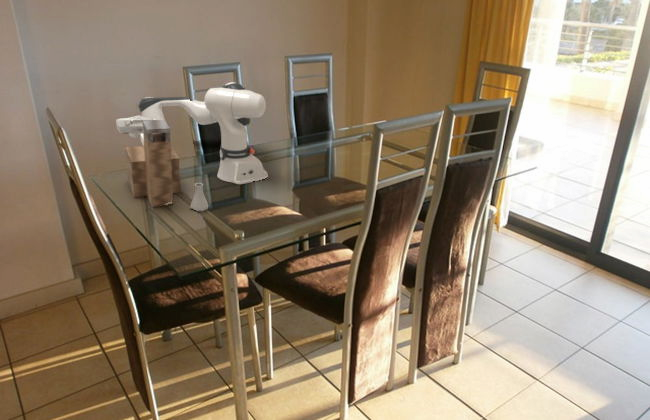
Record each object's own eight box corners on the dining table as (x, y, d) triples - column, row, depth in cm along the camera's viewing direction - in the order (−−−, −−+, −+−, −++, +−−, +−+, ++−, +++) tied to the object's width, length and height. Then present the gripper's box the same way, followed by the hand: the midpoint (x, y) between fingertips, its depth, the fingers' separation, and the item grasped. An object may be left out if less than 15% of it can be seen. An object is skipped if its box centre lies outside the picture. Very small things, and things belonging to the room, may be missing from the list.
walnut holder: (172, 177, 223) (169, 107, 209) (185, 203, 203) (184, 127, 189) (128, 181, 215) (122, 108, 201) (137, 208, 195) (132, 130, 181)
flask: (203, 213, 197) (203, 189, 193) (186, 209, 198) (185, 186, 194) (211, 205, 203) (211, 182, 199) (194, 202, 204) (194, 179, 200)
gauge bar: (150, 139, 219) (150, 132, 217) (160, 158, 202) (160, 150, 200) (140, 140, 217) (140, 132, 215) (149, 159, 200) (149, 151, 198)
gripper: (162, 131, 240) (167, 127, 227) (115, 133, 231) (118, 129, 218) (161, 118, 239) (166, 113, 227) (114, 119, 230) (116, 114, 218)
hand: (142, 121), depth 222 cm, fingers open, 8 cm apart
